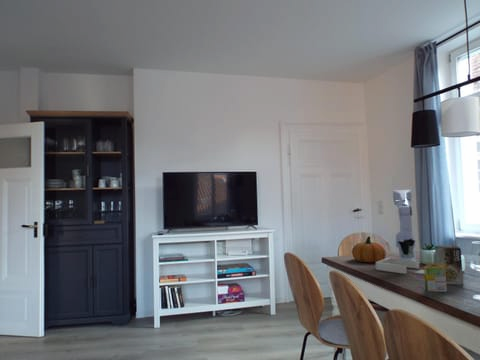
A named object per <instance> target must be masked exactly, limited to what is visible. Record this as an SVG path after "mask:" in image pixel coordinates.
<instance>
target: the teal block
mask: <svg viewBox="0 0 480 360" xmlns="http://www.w3.org/2000/svg"><path fill="white" fill-rule="evenodd" d="M400 247H401V246H400ZM414 252H415V249H414V248H413V246H409V251H408V255H404V254H403V251H402V248H401V257H402V258H414Z"/></svg>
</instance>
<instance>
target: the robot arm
mask: <svg viewBox="0 0 480 360" xmlns="http://www.w3.org/2000/svg"><path fill="white" fill-rule="evenodd" d="M392 197H393V198H392V199H393V203H394V206H397V208H398V209H397V210H398V211H397V214H398V218H399V219H398V220H399V232H397V233H396V235H395V247H396V248H397V249H398V259H405V260H414V261H416V252H415V251H414V258H402V257H401V248H402V251H403V254H404V255H408V251H409V246H413V249H415V248H416V239H415V235H414V234H413V226H412V225H413V222H412V220H413V219H412V216H413V207H412V205H411V204H412V190H411V189H393V190H392ZM400 246H401V247H400Z"/></svg>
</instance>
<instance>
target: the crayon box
mask: <svg viewBox="0 0 480 360" xmlns="http://www.w3.org/2000/svg"><path fill="white" fill-rule="evenodd" d="M425 264H426V265H425V266H423V268H424V269H423V270H424V272H425V275H424V286H425V290H426V291H427V292H436V293H437V292H441V293H442V292H443V293H447V292H448V290H447V289H448V288H447V287H448V286H447V285H448V284H446V272H445V263H436V262H425ZM434 265H435V266H434ZM436 265H440V266H437V267H436Z"/></svg>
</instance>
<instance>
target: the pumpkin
mask: <svg viewBox="0 0 480 360" xmlns="http://www.w3.org/2000/svg"><path fill="white" fill-rule="evenodd" d="M351 254H352V255H351V256H353V258H354V259H355V260H356V261H358V262H362V263H367V262H368V264H369V263H370V264H371V263H372V264H373V263H375V262H377V261H381V260H384V259H386V257H387V252H386V250H385V247H383V246H382V245H381V244H379V243H378V242H371V236H367V238H366V241H365V242H363V241H361V242H358V243H356V244H355V245H354V246H353V248H352V250H351Z"/></svg>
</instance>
